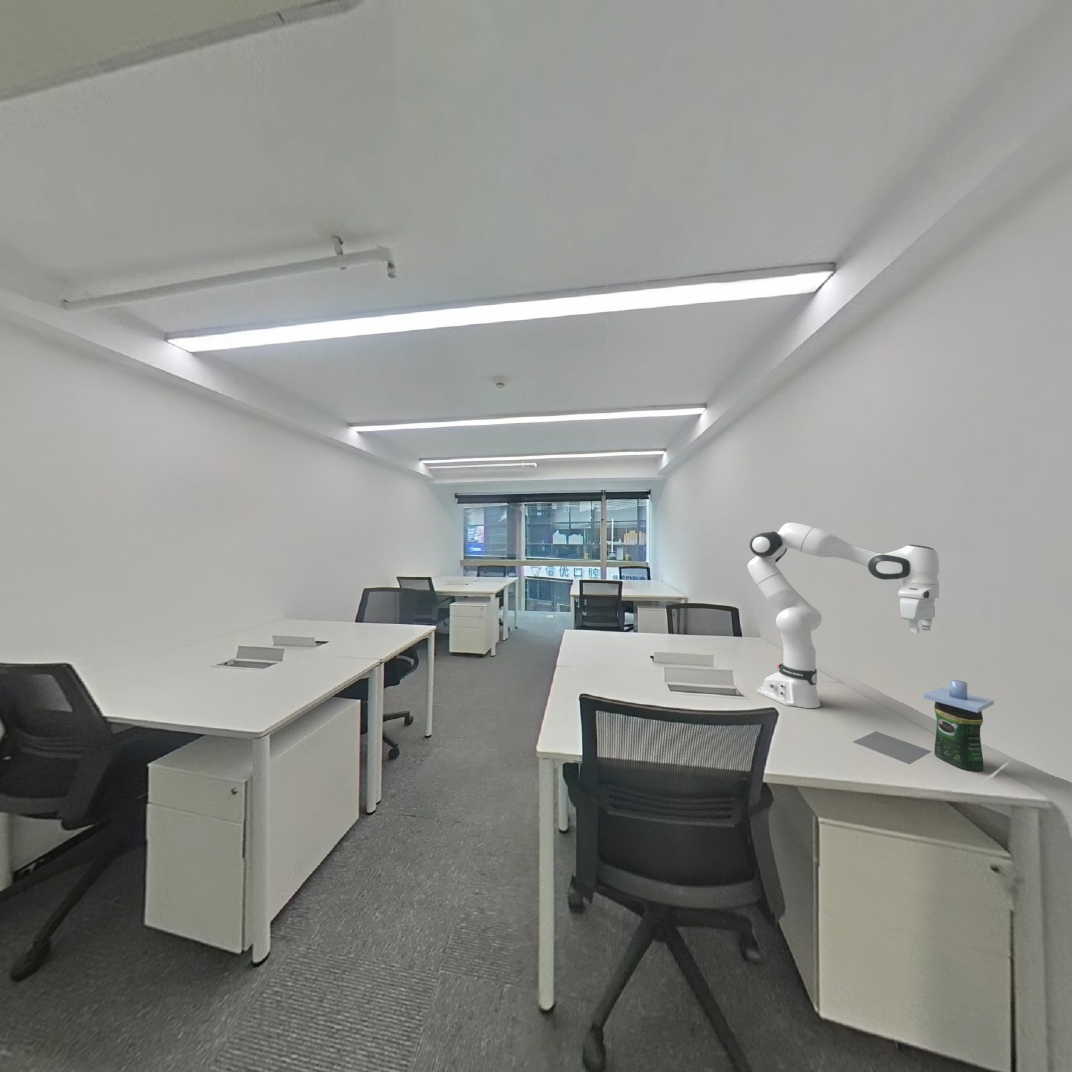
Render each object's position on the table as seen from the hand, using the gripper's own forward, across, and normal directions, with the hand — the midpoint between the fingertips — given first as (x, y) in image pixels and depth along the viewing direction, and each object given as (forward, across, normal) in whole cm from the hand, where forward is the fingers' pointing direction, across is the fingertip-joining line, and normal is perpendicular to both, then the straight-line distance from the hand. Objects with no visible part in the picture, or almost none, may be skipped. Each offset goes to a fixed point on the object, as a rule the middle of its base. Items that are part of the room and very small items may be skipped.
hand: (920, 631), depth 133 cm
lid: (+17, +15, +13) cm, 26 cm away
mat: (+35, +22, 0) cm, 41 cm away
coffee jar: (+35, +15, +13) cm, 40 cm away
